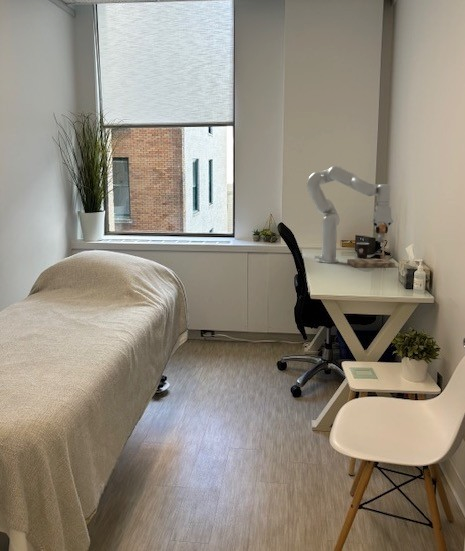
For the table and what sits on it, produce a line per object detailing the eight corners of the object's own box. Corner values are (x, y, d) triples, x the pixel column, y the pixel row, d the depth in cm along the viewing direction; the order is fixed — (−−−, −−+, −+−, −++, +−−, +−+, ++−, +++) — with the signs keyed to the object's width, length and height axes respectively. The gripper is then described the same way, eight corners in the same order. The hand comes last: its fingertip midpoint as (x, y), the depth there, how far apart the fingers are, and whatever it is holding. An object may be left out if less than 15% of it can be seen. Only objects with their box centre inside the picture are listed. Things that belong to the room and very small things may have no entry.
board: (354, 267, 336) (354, 263, 335) (347, 263, 351) (347, 259, 351) (394, 266, 337) (395, 262, 337) (386, 262, 353) (386, 258, 352)
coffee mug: (353, 257, 374) (353, 243, 372) (361, 256, 379) (361, 242, 377) (366, 259, 365) (367, 245, 363) (374, 258, 370) (375, 244, 368)
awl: (378, 242, 339) (379, 225, 337) (376, 241, 344) (377, 224, 342) (385, 242, 340) (386, 225, 337) (383, 241, 344) (384, 224, 342)
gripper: (371, 204, 333) (370, 233, 337) (398, 204, 334) (396, 233, 337) (367, 203, 340) (366, 232, 344) (394, 203, 341) (392, 232, 345)
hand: (381, 232), depth 341 cm, fingers closed on awl, 4 cm apart
